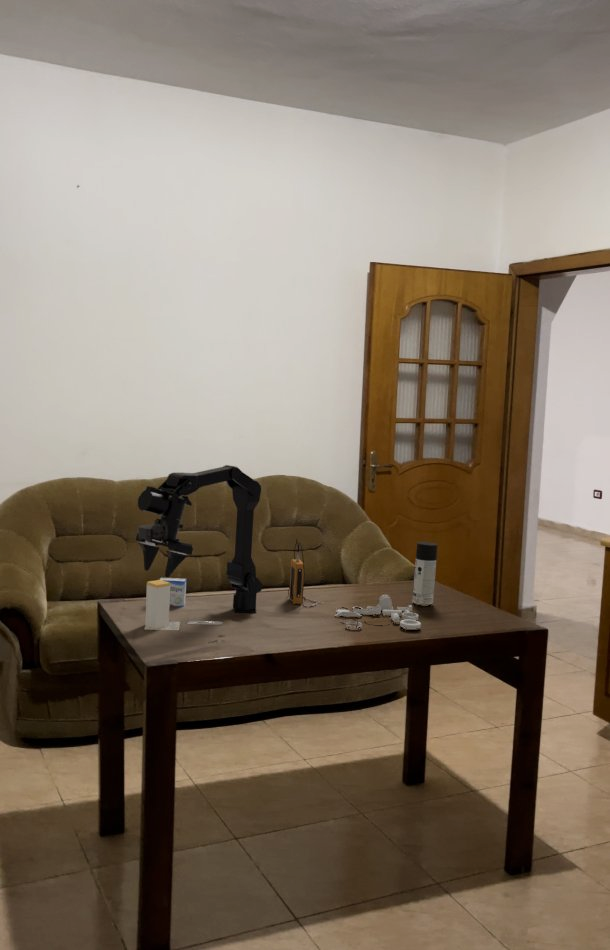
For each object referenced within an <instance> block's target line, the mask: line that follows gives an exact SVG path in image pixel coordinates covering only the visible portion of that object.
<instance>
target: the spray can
mask: <svg viewBox="0 0 610 950" xmlns="http://www.w3.org/2000/svg"><path fill="white" fill-rule="evenodd" d="M437 556H438V543H435V542H431V541H430V542H428V541H418V542H417V543H416V551H415V562H414V564H415V565H414V575H413V587H412V590H413V591H412V602H411V603H413V602H414V603H417V604H432V603H433V604H434V595H435V594H434V593H435V581H436V571H437V570H436V569H437V558H438V557H437ZM433 604H432V605H433Z"/></svg>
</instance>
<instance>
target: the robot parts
mask: <svg viewBox="0 0 610 950" xmlns="http://www.w3.org/2000/svg"><path fill="white" fill-rule="evenodd" d="M378 601H379V602H378V604H377V605H375V606H367V607H366V608H363V607H361V606H358V607H359V608H361V609H359V608H355V607H356V606H353V607H352V608H353V610H352V611H354V612H352V611H350V609H349V610H346V609H345V608H339V609H338V610H337V609H336V610H335V614H334V617H335V616H346V617H349V616H362V615H360V614H376V615H382V613H383V615H385V614H386V615H388V614H389V615H390V614H391V617H390V619H391V618H392V620H393V621H394V622H400V625H399V627H400V626H401V627H403V628H407V629H416V628H420V627H421V628H422V623H421V622H420V621H416V620H419V614H418V613H416V612H413V604H412V605H411V604H409V605H408V606H406V607H404V606H403V607H402V606H397V607H396V609H394V607H393V601H392V599H391V597H390V596H389V594H382V595H380V597H379V600H378ZM371 608H372V609H371ZM397 609H398V610H397ZM381 610H382V612H381ZM402 611H404V612H402ZM410 611H412V612H410ZM336 612H337V614H336ZM399 615H402V617H399ZM402 619H403V620H402ZM345 623H346V625H345V626H346V627H349V629H350V628H352V629H354V628H356V629H357V628H359V627H362V628H363V623H361V621H360V622H357V621H354V624H357V623H358V625H359V626H357V627H356V626H355V625H348V624H352V620H348V621H346V622H345ZM359 629H360V628H359Z"/></svg>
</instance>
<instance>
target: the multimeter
mask: <svg viewBox="0 0 610 950" xmlns="http://www.w3.org/2000/svg"><path fill="white" fill-rule="evenodd" d="M296 547H297V551H296ZM300 549H301V556H302V560H301V559H300ZM296 552H297V553H296ZM303 553H304V551H303V547H302V543H301V541H299V542H298V538H295V544H294V551H293V557H294V558H293V559H292V558H291V561H290V577H289V580H290V582H289V587H288V591H287V594H288V596H289V601H291V602H292V604H293V605H302V607H304V608H307V606H305V605H304V600H305V601H310V602H313V601H314V602H313V604H311V605H310V606H309V608H312V607H314V606H316V605H317V604H318V603H320V602H321V604H324V602H323V601H319V600H314V599H307V598H306V597H305V596H304V585H305V561H304V560H305V559H304V554H303ZM296 554H297V555H296ZM311 606H312V607H311Z"/></svg>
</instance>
